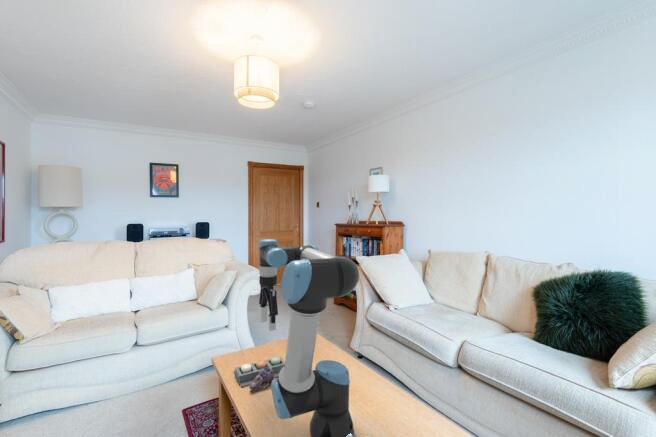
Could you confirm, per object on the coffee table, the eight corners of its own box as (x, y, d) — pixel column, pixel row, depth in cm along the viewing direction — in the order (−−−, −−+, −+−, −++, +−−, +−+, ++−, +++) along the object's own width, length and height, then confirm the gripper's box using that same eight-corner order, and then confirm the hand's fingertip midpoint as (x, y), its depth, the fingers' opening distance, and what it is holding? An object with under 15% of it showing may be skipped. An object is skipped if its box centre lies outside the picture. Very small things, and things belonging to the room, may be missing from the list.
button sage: (281, 364, 144) (281, 359, 144) (272, 367, 142) (272, 362, 142) (278, 360, 148) (278, 355, 148) (269, 362, 146) (269, 358, 146)
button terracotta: (267, 368, 141) (267, 363, 141) (258, 371, 138) (258, 366, 138) (264, 364, 144) (264, 359, 144) (255, 366, 142) (255, 361, 142)
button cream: (252, 372, 137) (252, 367, 137) (242, 375, 135) (242, 369, 135) (249, 368, 141) (249, 363, 141) (240, 370, 139) (240, 365, 139)
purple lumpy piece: (254, 396, 125) (254, 382, 124) (243, 386, 130) (244, 373, 129) (277, 382, 134) (277, 370, 133) (266, 374, 139) (267, 362, 138)
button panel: (289, 374, 141) (289, 366, 141) (241, 387, 130) (241, 379, 130) (278, 360, 153) (278, 353, 153) (233, 372, 142) (233, 364, 142)
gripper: (286, 279, 124) (286, 333, 125) (267, 269, 143) (267, 316, 144) (268, 281, 120) (268, 337, 121) (252, 270, 140) (251, 318, 141)
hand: (267, 325), depth 133 cm, fingers open, 10 cm apart
